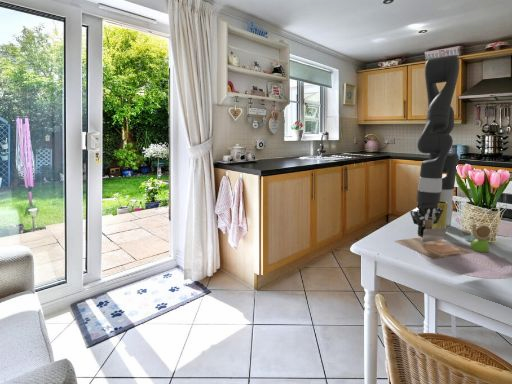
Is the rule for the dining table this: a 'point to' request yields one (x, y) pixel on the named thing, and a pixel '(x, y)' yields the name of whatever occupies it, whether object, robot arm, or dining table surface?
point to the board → (419, 246)
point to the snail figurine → (480, 238)
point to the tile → (442, 249)
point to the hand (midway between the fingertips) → (424, 235)
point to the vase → (442, 219)
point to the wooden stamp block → (433, 232)
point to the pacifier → (470, 237)
